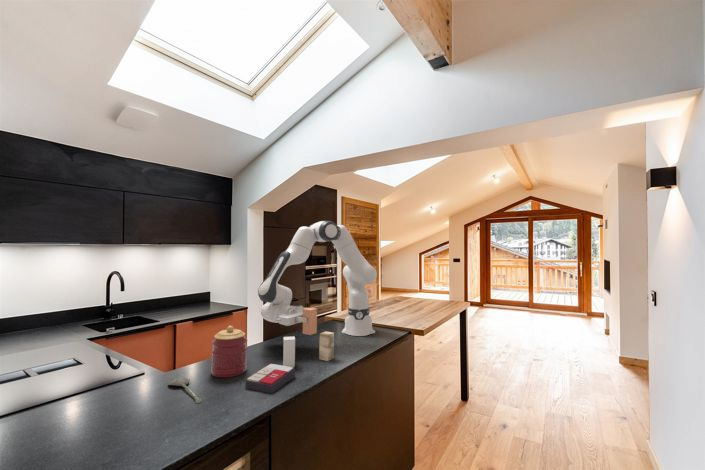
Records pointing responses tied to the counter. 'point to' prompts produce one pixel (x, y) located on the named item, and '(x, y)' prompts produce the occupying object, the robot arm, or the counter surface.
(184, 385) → the grey axe
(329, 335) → the ash block
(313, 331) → the terracotta block
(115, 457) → the counter surface
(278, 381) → the flat patterned box
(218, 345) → the canister
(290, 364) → the grey block
